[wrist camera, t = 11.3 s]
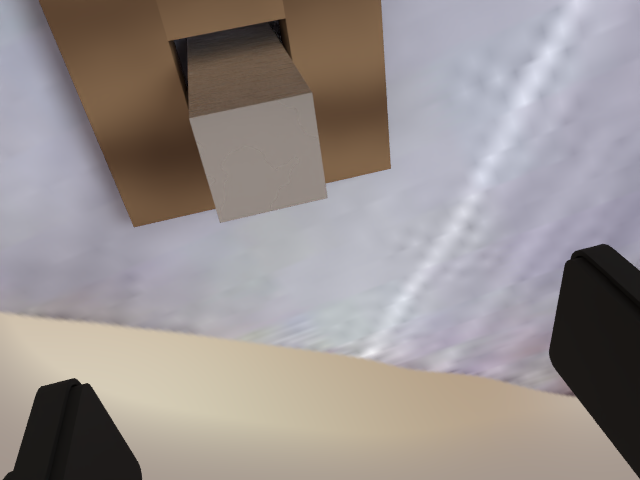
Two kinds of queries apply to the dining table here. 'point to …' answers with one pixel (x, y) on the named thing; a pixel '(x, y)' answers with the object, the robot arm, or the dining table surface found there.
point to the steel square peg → (253, 122)
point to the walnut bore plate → (172, 93)
